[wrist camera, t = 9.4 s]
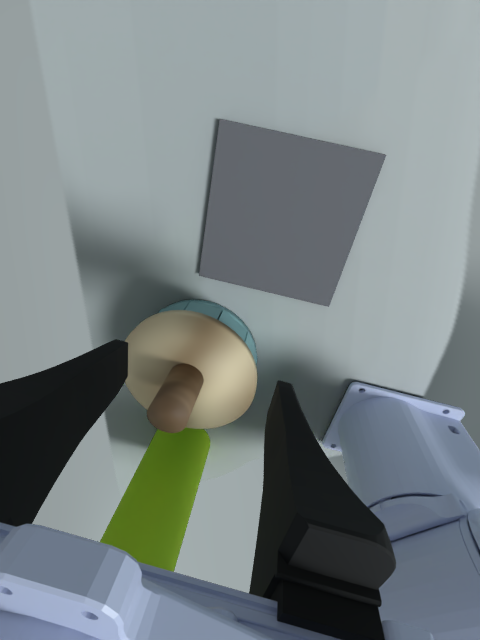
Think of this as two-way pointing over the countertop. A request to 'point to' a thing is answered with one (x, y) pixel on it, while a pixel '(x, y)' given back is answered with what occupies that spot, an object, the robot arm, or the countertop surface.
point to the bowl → (218, 318)
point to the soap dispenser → (160, 498)
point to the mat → (284, 210)
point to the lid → (189, 371)
